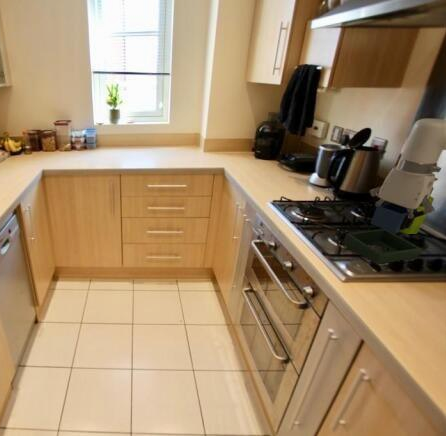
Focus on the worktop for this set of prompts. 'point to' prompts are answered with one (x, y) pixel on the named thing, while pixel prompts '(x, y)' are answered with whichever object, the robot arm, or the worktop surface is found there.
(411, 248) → the big bin
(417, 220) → the soap dispenser
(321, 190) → the worktop surface
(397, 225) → the small bin
